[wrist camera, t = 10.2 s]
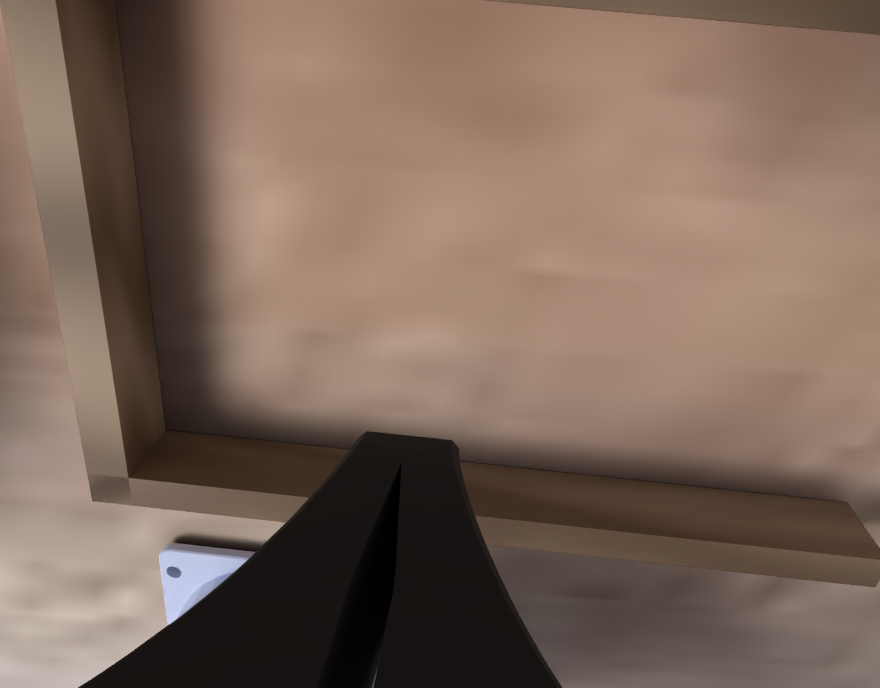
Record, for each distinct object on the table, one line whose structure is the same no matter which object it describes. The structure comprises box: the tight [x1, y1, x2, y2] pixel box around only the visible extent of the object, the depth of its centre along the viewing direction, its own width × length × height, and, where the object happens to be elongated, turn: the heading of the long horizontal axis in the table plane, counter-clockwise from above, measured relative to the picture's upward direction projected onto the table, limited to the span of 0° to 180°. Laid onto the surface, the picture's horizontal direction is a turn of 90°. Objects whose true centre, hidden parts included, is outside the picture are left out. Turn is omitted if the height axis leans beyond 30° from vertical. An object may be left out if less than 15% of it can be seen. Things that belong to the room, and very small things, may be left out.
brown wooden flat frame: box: [0, 0, 880, 587], centre depth 18 cm, size 15×23×2 cm, turn 85°
